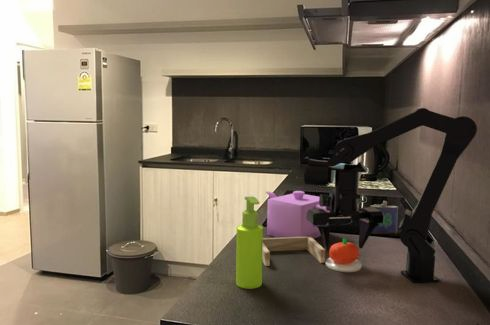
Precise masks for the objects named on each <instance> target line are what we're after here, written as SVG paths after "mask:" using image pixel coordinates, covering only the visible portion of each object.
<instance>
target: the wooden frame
mask: <svg viewBox="0 0 490 325" xmlns="http://www.w3.org/2000/svg"><path fill="white" fill-rule="evenodd" d="M302 250H303V251H304V250H305V251H306V250H307V251H308V252H309V253H310V254H311V255H312V256H313V257H314V258H315V259H316V260H317V261H318V262H319V263H320V264H325V263H326V249H325V247H323V246H322V245H321V244H319V242H317V240H315V239H313V238H312V237H310V236H303V237H278V238H277V237H263V252H262V265H264V266H265V267H268V266H269V267H270V265H271V264H270V263H271V262H270V261H271V252H279V251H280V252H281V251H282V252H284V251H302Z"/></svg>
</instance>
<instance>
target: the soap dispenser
mask: <svg viewBox="0 0 490 325" xmlns="http://www.w3.org/2000/svg"><path fill="white" fill-rule="evenodd" d="M244 200H245V201H246V205H245V206H246V209H245V210H243V211H242V214H241V215H242V221H241V222H242V224H240V225H237V227H236V249H235V250H236V253H235V255H236V256H235V258H236V259H235V266H236V267H235V271H236V272H235V284H236V286H238V287H239V288H242V289H249V290H250V289H257V288H259V287H261V286H262V285H263V262H262V252H263V238H264V227H263V226H262V225H259V224H258V221H259V220H258V214H259V212H258V211H256V210H255V205H260V201H259V199H258V198H256V197H254V196H244Z"/></svg>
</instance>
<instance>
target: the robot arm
mask: <svg viewBox="0 0 490 325" xmlns="http://www.w3.org/2000/svg"><path fill="white" fill-rule="evenodd" d="M420 127H427V128H430V129H432V130H435V131H439V132H442V133H444V135H443V140H442V144H441V149H440V153H439V155H438V158H437V159H436V162H435V164H434V166H433V168H432V170H431V173H430V175H429V177H428V179H427V181H426V184H425V185H424V188H423V191H422V193H421V195H420V197H419V200H418V201H417V204H416V205H415V207H414V208H413V209H412V211H411V210H409V209H408V208H406V209H405V212H404V217H403V218H402V220H401V221H399V225H398V228H397V231H400V232H399V233H400V234H399V238H400V239H399V240H400V241H401V243H402V244H403V246H405V247H407V252H406V264H405V265H406V266H405V268H406V269H405V270H400V273H401V275H403V276H404V277H406V278H407V279H408V280H410V281H412V282H413V283H416V284H419V283H433V282H435V283H436V282H440V280H441V279H440V278H439V277H437V276H436V275H435V266H436V255H435V254H436V240H435V239H434V238H433V237H431V235H430V234H429V230H430V225H431V220H432V215H433V212H434V210H435V208H436V206H437V205H438V202H439V200H440V197H441V195H442V193H443V192H444V189H445V187H446V185H447V183H448V180H449V178H450V176H451V174H452V172H453V169H454V167H455V166H456V164H457V161H458V160H459V158H460V156H461V155H462V154H463V153H464V151H465V150H466V149H467V148H468V147H469V145H470V144H471V142H472V141H473V139H474V138H475V136H476V134H477V132H478V126H477V124H476V122H475V121H474V120H473V119H472V118H470V117H469V116H462V115H461V116H455V117H452V116H448V115H444V114H442V113H439V112H435V111H432V110H429V109H428V108H425V107H420V108H416V110H415V111H413V112H412V113H411V112H410V113H409V114H407V115H404V116H403V117H400V118H399V119H396V120H394V121H391V122H389V123H387V124H384V125H383V126H381V127H378V128H376V129H374V130H372V131H370V132H367V133H363V134H359V135H354V136H351V137H348V138H344V139H342V140H340V141H338V142H337V143H336V145H335V147H334V153H333V154H332V155H331V156H330V158H328V160H320V159H319V160H318V159H316V158H315V159H314V158H313V159H312V158H310V159H308V160H307V162H306V167H305V172H304V174H303V175H304V176H303V177H304V179H303V180H304V184H305V186H312V187H314V186H315V187H324V188H328V187H329V186H330V184H333V183H334V190H332V192H331V193H332V194H331V196H329V194H328V193H321V194H319V196H318V197H319V205H320V207H325V206H326V210H330V212H326V211H324V210H323V209H309V210H308V211H307V215H306V219H307V220H308V221H309V222H310V223H312V224H313V225H315V226H316V227H317V228H318V229H319V232H320V234H321V236H320V237H321V240H322V243H323V246H324V247H323V248H324V249H325V251H328V250H329V249H330V248H329V246H330V230H331V226H330V225H329V223H330V221H335V220H336V221H341V220H342V221H343V220H344V221H345V220H358V222H359V234H358V235H359V236H358V249H363V248H364V246H365V244H366V242H367V240H368V239H369V237H370V235H371V234H372V231H373V230H374V228H375V227H376V226H379V224H378V223H384V214H383V212H382V211H380V210H378V209H376V208H374V207H370V206H369V207H360V210H359V209H358V199H361V194H360V193H359V177H360V176H359V175H360V173H366V172H367V171H368V167H367V166H365V165H364V164H363V162H362V161H359V162H357V164H353V163H351V162H353V161H355V160H356V159H358V158H360V157H361V156H363V155H364V154H366V153H368V152H369V151H370V150H371V149H373V148H375V147H376V146H379V145H380V144H383V143H386V142H388V141H389V140H390V141H391V140H392V139H395V138H397V137H399V136H401V135H404V134H406V133H408V132H410V131H412V130H413V131H414V130H415V129H418V128H420ZM341 163H344V166H343V167H342V166H340V167H339V166H338V165H339V164H341ZM327 223H328V224H327Z"/></svg>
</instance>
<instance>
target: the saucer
mask: <svg viewBox="0 0 490 325" xmlns="http://www.w3.org/2000/svg"><path fill="white" fill-rule="evenodd" d="M324 264H325V266H326V268H328V269H330V270H332V271H336V272H342V273H355V272H358V271H360V270H361V269H362V266H363V265H362V262H361V261H360V260H359V259H357V260H355V261H354V262H352V263H348V264H341V263H337V262H335V261H333V260H332V259H331V258H330V257H328V258H325V263H324Z"/></svg>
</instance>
